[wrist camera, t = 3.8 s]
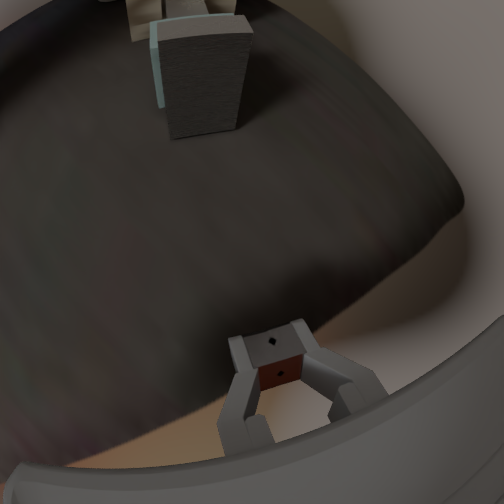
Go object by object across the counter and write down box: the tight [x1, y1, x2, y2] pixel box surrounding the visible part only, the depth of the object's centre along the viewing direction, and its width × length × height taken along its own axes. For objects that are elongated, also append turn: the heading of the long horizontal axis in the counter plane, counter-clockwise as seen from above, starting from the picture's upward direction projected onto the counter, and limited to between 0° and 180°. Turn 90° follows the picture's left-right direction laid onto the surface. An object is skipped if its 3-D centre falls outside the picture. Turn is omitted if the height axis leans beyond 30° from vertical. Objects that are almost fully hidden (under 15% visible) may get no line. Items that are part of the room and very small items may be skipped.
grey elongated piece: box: [157, 0, 254, 140], centre depth 15 cm, size 4×18×8 cm, turn 14°
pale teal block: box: [150, 13, 234, 108], centre depth 15 cm, size 5×4×5 cm, turn 104°
